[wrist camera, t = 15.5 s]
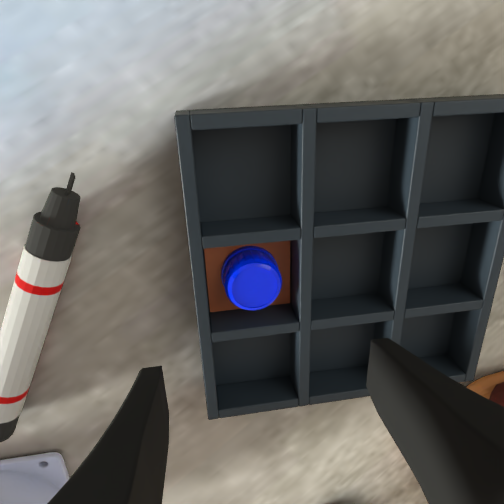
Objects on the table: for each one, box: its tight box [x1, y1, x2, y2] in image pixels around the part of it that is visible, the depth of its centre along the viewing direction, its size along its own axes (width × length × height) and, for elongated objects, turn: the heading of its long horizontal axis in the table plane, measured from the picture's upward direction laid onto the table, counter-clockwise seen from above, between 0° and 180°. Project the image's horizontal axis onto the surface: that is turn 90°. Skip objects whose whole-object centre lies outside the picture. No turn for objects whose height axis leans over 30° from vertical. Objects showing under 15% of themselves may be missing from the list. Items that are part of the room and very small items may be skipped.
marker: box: [0, 172, 80, 442], centre depth 19 cm, size 15×2×2 cm, turn 155°
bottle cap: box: [221, 246, 282, 311], centre depth 20 cm, size 3×3×2 cm
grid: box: [174, 94, 504, 420], centre depth 20 cm, size 16×16×2 cm
